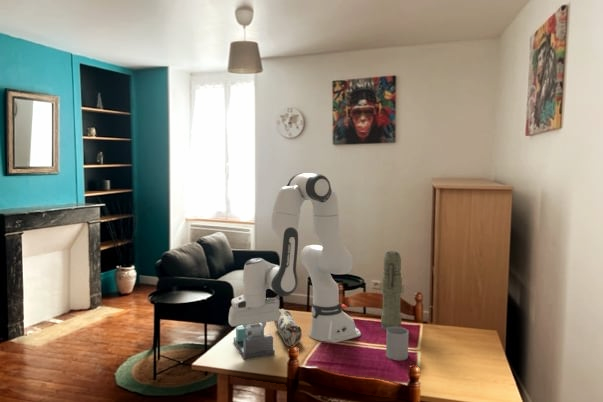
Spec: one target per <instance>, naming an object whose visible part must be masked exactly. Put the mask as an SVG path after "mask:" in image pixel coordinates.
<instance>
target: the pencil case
mask: <svg viewBox="0 0 603 402" xmlns="http://www.w3.org/2000/svg"><path fill="white" fill-rule="evenodd" d="M279 315H280V318H279V320H278V321H273V322H274V326H275V328H276V330H277V332H278V333H279V335H280V336H281V337H282V340H283V342H284V343H285V345H287V346H288V347H292V346H291V345H294V346H296V345H297V344H298V343H299V342H300V341H301V339H302V337H303V333H302V329H301V326H298V325H297V323H296V321H295V319H294V318H293V317H292V314H291V312H290V311H288V310H286V309H284V308H281V309H279Z"/></svg>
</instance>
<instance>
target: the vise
mask: <svg viewBox="0 0 603 402" xmlns="http://www.w3.org/2000/svg"><path fill="white" fill-rule="evenodd" d="M233 344H234V346H235V347H236V349H237V350H238V351H239V353H240V355H241V357H242V356H243V357H242V359H243V360H244V361H247V360H253V359H254V360H255V359H258V358H259V359H260V358H265V357H270V356H271V357H272V356H275V355H276V353H275V348H274V337H273V336H272V334H267V335H265V334H264V336H258V337H251V338H244V341H240V342H238V341H237V340H236V336H235V337H233Z"/></svg>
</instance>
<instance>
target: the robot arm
mask: <svg viewBox="0 0 603 402" xmlns="http://www.w3.org/2000/svg"><path fill="white" fill-rule="evenodd" d="M305 200H306V201H310V202H311V204H312V233H313V235H314V236H315V238H317V239H318V241H319V242H320V244H309V245H305V246H304V247H303V248H302V250H301V252H300V262H301V264H302V265H303V266H304V268H305V269H306V270H307V273H308V274H309V275H308V276H309V277H310V280H311V284H312V303H311V316H312V317H311V326H310V330H309V333H308V335H309V337H310V338H311V339H314V340H317V341H321V342H327V343H332V344H335V343H340V342H343V341H344V342H345V341H348V340H350V339H354V338H358V337H361V335H362V334H361V331H360V330H359V328H357V327H356V324H355V321H354V318H352V317H351V316H350V315H349V314H347V313H346V312H345V311H346V310H347V305H346V304H344V303H341V302H339V297H340V296H339V292H340V291H339V288H340V287H339V285H338V283H337V281H335V280H334V279H333V276H332V275H347V274H348V273H349V272H350V271H351V270H352V268H353V266H354V265H353V264H354V259H353V256H352V254H351V253H350V251H349V250H347V247H345V244H344V242H343V239H342V238H341V233H340V222H339V221H340V218H339V216H340V214H339V202H338V198H337V194H336V191H335V190H333V189H332V188H331V183H330V180H329V179H328V178H327V177H326V176H325V175H324V174H321V173H320V174H319V173H313V172H312V173H311V172H305V173H297V174H295V175H293V176H292V177H290V179H289V180H288V183H287V184H286V186H282V187H280V189H278V192H277V195H276V197H275V200H274V203H273V207H272V213H271V221H270V222H271V229H272V231H273V232H274V233H275V235H276V237H277V239H279V242H280V245H281V247H280V249H281V250H280V259H279V265H278V264H274V263H271V262H269V261H267V260H265V259H264V258H262V257H255V258H250V259H248V260H246V262H245V263H244V267H243V272H242V273H243V275H242V276H243V279H242V283H243V285H244V287H243V292H242V293H243V294H241V295H239V296H236V297H234V298H232V299H231V301H230V303H231V306H230V308H229V312H228V324H229V326H231V327H242V326H243V327H244V329H245V330H246V335H250V330H249V329H248V330H247V328H246V327H247V326H248V325H249V324H256V323H259V324H262V333H263V329H264V330H265V328H266V326H267V323H271V322H274V321H278V320H279V318H280V315H279V310H280V300H279V299H278V298H277V297H267V296H266V294H267V290H269V289H270V290H271V291H273V292H274V293H275V294H276V295H277V296H279V297H289V296H290V295H292V294H293V293H294V292H295V291H296V289H297V287H298V283H299V282H298V281H299V279H298V275H297V260H298V259H297V258H298V250H299V221H300V217H301V207H302V205H303V203H304V202H305ZM331 274H332V275H331ZM266 297H267V298H266ZM344 310H345V311H344Z"/></svg>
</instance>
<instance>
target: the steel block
mask: <svg viewBox="0 0 603 402" xmlns="http://www.w3.org/2000/svg"><path fill="white" fill-rule="evenodd" d="M260 324H261V323H256V324H249V325H247V326H248V329H249V330H250V335H248V338H251V337H258V336H262V326H261V325H260Z"/></svg>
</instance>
